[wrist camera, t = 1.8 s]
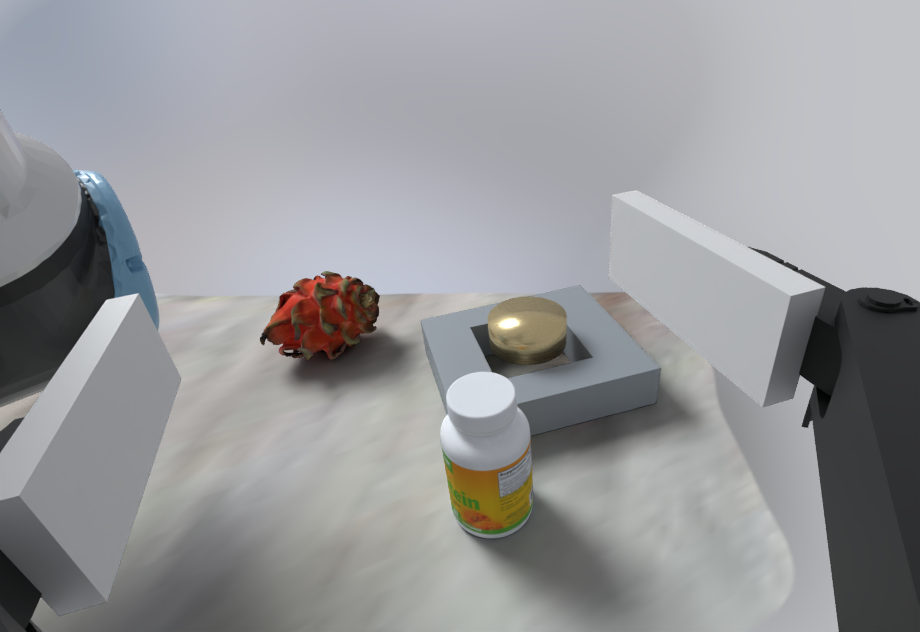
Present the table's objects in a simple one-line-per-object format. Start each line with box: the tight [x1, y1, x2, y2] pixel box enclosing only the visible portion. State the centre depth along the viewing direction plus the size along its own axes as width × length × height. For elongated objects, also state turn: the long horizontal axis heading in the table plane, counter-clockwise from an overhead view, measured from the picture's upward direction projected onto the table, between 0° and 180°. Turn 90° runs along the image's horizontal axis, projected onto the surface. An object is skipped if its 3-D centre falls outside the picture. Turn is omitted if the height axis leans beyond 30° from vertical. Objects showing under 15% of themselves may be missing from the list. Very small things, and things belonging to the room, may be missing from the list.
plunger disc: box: [488, 297, 567, 365], centre depth 43 cm, size 6×6×2 cm
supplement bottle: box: [440, 372, 533, 538], centre depth 32 cm, size 5×5×10 cm
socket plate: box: [421, 285, 661, 436], centre depth 45 cm, size 16×14×4 cm
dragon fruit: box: [260, 271, 380, 360], centre depth 51 cm, size 8×8×12 cm
